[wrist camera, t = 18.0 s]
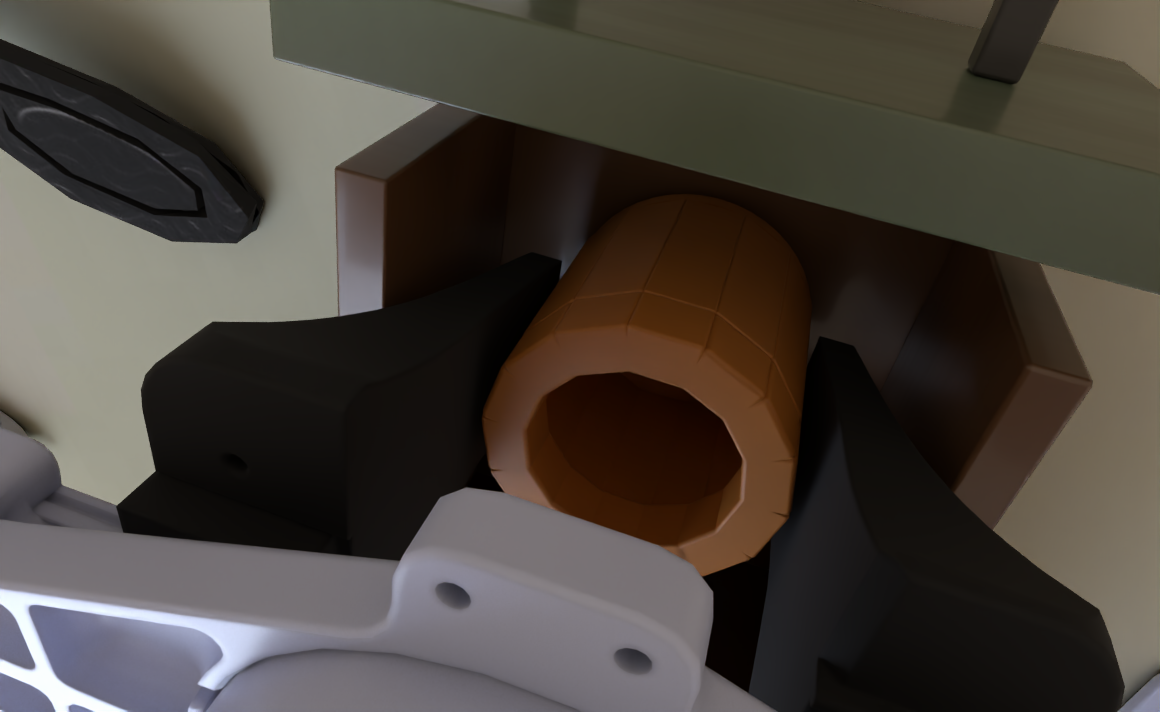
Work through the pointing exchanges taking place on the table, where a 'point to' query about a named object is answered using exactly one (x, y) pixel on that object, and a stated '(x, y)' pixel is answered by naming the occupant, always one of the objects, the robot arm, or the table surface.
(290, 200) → the table surface
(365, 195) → the drawer
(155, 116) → the hairbrush
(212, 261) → the table surface
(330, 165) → the table surface
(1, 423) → the pen
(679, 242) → the jar
